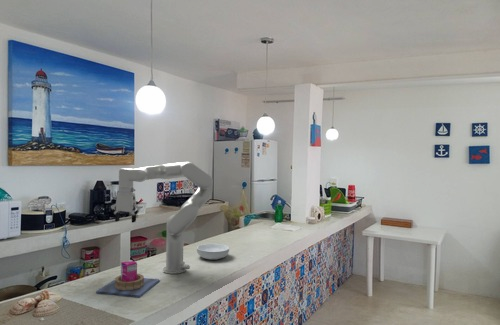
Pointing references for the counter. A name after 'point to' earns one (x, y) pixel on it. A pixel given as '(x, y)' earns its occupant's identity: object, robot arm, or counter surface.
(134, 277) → the supplement box
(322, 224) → the counter surface
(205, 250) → the serving bowl
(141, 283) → the collar
